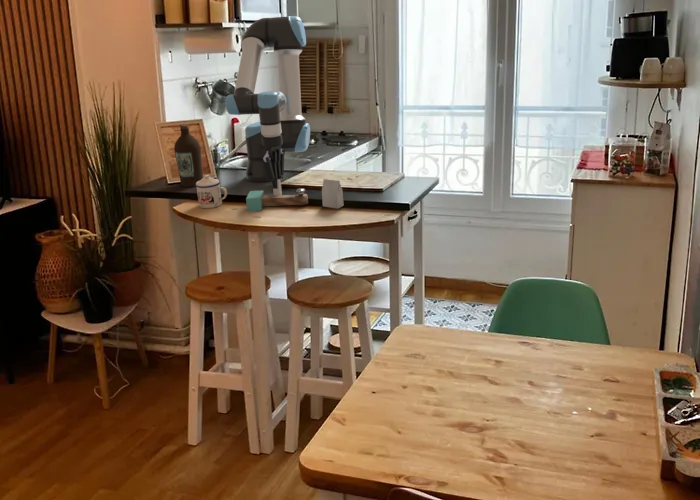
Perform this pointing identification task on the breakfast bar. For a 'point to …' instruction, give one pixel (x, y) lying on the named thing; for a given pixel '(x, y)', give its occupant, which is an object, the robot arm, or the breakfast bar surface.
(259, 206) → the teal rectangular block
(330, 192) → the white paper bag
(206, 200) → the teacup with lid
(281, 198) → the walnut link
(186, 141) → the olive oil
